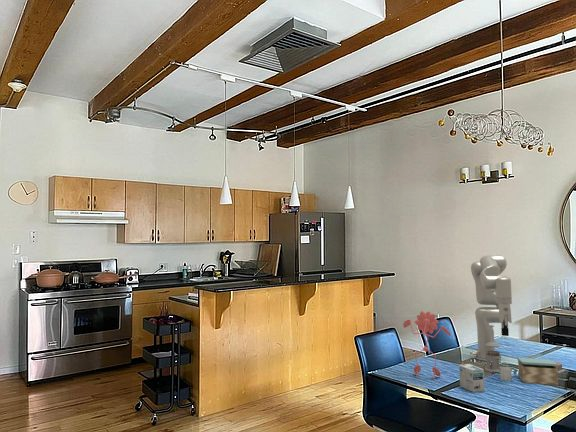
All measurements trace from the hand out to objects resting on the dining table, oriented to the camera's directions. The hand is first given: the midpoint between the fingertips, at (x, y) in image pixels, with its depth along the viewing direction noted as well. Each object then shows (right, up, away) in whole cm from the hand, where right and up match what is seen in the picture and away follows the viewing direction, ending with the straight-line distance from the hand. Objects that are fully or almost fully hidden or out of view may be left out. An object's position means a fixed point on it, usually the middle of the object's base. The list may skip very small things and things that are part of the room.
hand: (505, 335), depth 242 cm
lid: (+16, -14, -2) cm, 21 cm away
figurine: (-38, -24, +8) cm, 46 cm away
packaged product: (+30, -24, +12) cm, 40 cm away
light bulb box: (-24, -23, -15) cm, 36 cm away
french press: (+1, -24, +17) cm, 30 cm away
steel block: (0, -23, -1) cm, 23 cm away
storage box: (+16, -23, -2) cm, 28 cm away
